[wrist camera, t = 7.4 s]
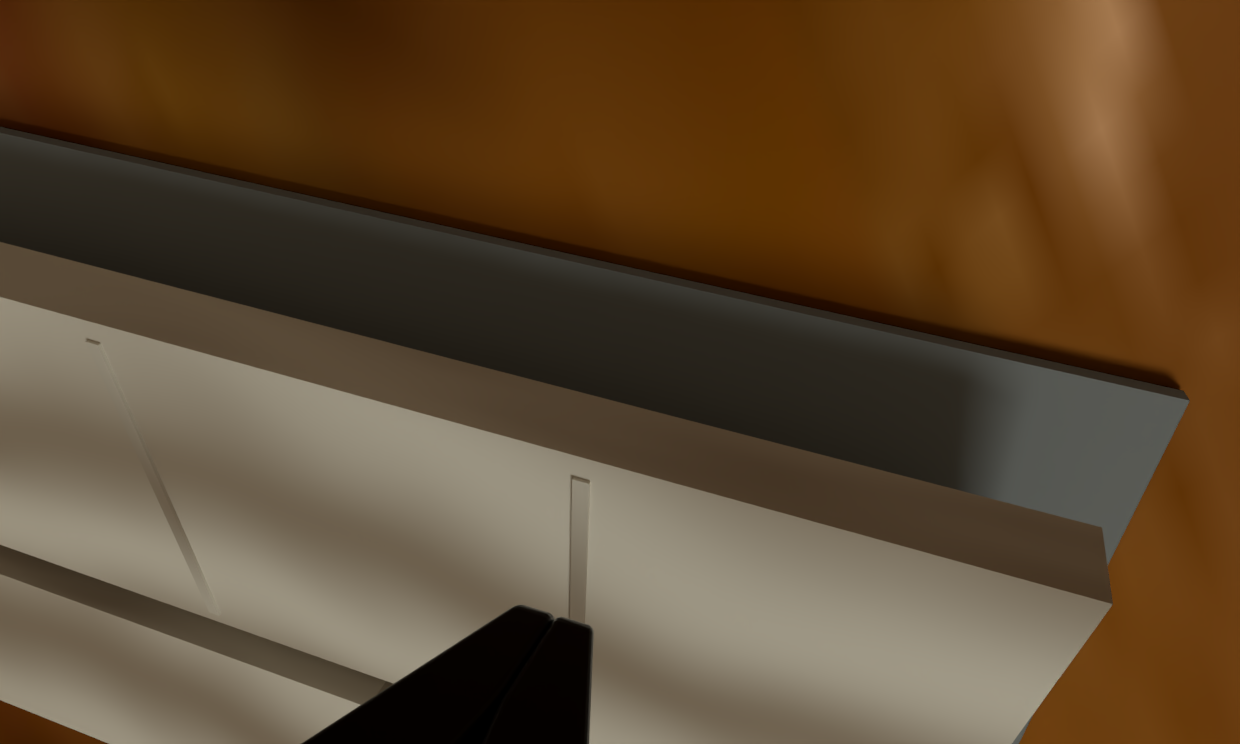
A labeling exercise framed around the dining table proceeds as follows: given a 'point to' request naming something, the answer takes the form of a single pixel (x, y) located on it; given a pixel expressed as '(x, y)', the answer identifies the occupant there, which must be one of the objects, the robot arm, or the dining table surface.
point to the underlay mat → (610, 330)
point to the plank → (517, 524)
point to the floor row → (155, 666)
